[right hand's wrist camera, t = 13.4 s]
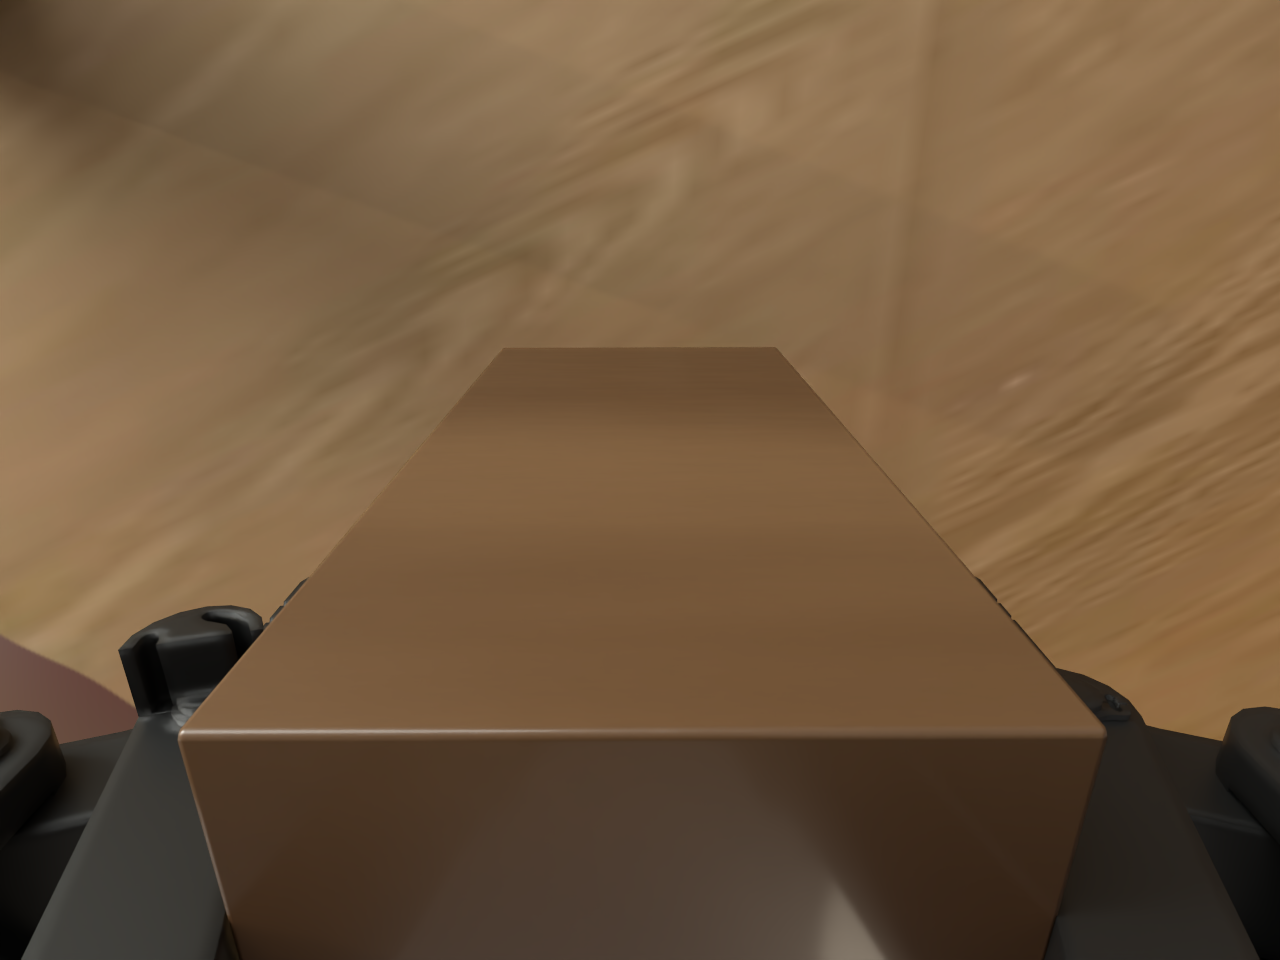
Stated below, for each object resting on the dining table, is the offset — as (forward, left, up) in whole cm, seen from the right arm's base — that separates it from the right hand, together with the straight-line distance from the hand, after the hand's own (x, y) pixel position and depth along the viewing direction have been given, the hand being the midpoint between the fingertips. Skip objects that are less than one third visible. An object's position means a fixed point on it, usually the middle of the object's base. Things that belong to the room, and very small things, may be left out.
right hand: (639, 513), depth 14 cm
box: (+10, -2, -2) cm, 11 cm away
